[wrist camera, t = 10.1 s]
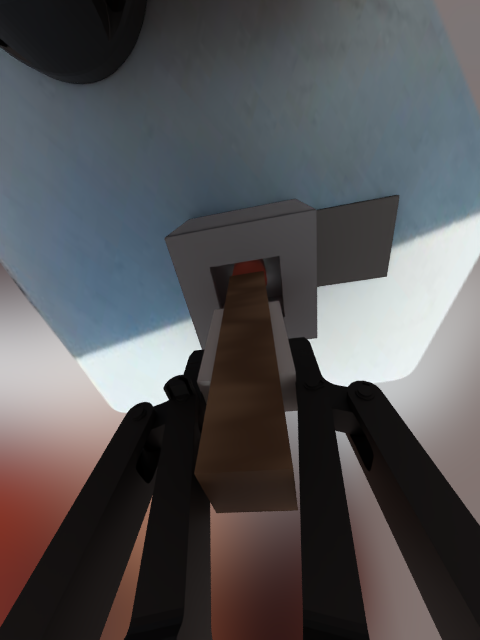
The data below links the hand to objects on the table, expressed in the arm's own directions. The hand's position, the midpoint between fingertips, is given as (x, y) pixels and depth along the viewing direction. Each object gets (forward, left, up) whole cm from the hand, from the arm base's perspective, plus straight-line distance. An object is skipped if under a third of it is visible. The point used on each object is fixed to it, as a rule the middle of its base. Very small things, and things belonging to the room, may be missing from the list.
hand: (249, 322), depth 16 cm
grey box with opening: (0, 0, -15) cm, 15 cm away
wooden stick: (0, 0, -6) cm, 6 cm away
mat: (0, +12, -15) cm, 19 cm away
